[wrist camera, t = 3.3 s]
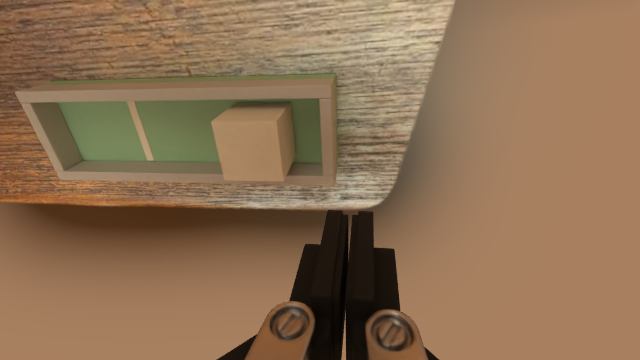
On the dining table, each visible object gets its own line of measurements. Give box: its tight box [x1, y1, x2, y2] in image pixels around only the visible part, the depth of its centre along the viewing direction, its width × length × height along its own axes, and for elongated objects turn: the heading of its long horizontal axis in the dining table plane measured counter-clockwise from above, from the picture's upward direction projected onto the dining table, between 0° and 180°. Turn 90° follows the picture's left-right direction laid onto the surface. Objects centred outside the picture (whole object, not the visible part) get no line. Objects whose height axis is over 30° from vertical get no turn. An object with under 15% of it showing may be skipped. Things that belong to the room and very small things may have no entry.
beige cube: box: [211, 102, 296, 182], centre depth 21 cm, size 4×4×4 cm
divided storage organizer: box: [15, 74, 338, 186], centre depth 23 cm, size 22×7×4 cm, turn 93°
